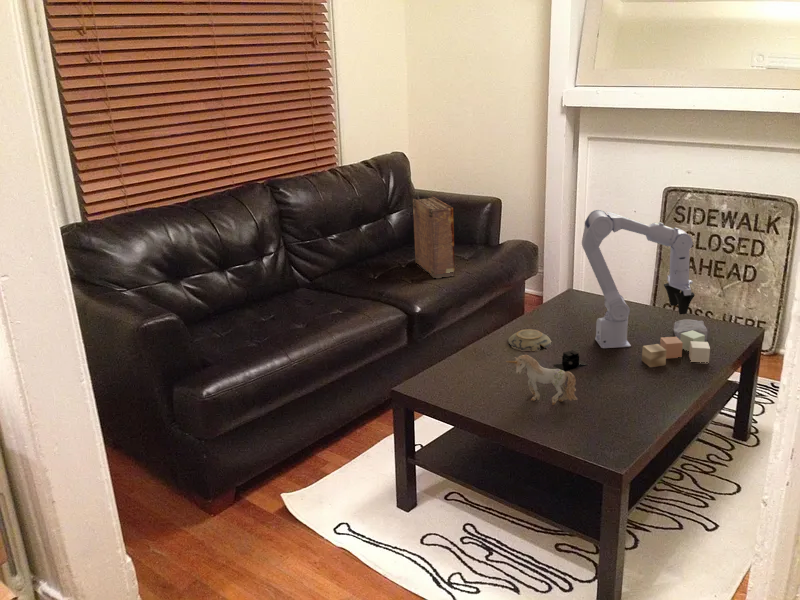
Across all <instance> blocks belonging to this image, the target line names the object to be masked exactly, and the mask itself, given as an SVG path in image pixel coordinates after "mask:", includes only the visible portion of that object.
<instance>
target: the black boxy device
mask: <svg viewBox="0 0 800 600" xmlns="http://www.w3.org/2000/svg"><path fill="white" fill-rule="evenodd" d="M562 353H563V354H562V356H561V358H562V359H561V360H562V362H559V363H554V364H553V365H554V366H553V367H555V368H556V369H560V370H563V371H565V372H568V371H572V370H575V369H578V368H582V367H587V366H589V364H588V363H586V362H585V361H583V360H582V359H580V355H579V352H577V351H575V350H568V351H565V352H562Z"/></svg>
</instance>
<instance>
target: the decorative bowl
mask: <svg viewBox="0 0 800 600" xmlns="http://www.w3.org/2000/svg"><path fill="white" fill-rule="evenodd" d="M508 342H509V344H510V345H511V346H513V347H516V348H518V349H521V350H530V351H531V350H532V351H535V350H540V349H541V347H543V348H544V349H545V348H546V347H549V345H551V342H552V340H551V338H550V337H549V336H548V335H547V334H545V333H543V332H541V331H539V330H538V329H534V328H533V329H532V328H529V329H528V328H527V329H521V330H519V331H517V332H515V333H513V334H512V335H510V337H509V338H508V339H507V343H508ZM509 344H508V345H509ZM510 345H509V346H510ZM551 346H552V345H551ZM549 348H550V347H549ZM541 350H542V349H541ZM535 352H536V351H535Z"/></svg>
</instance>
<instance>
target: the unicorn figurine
mask: <svg viewBox="0 0 800 600" xmlns="http://www.w3.org/2000/svg"><path fill="white" fill-rule="evenodd" d="M514 359H515V360H505V363H508V364H515V366H516V371H515V373H516V374H517V375H521V374H522V372H523V371H522V370H523V369H524V368H526V369H527V370H526V371H527V372H526V373H527V377H528V380H527V386H528V389H529V391H530V392H531V394H532V395H533V396H532V398H531V399H530V400H531V401H532V400H533V401H532V402H536V400H537V401H540V397H541V393H540V392H539V391H538V389H539V388H538V384H537V383H540V384H544V385H549V384H552V385H553V386H554V388H555V390H556V391H557V393H555V395H553V396H552V397H551V405H552V406H555V404H557V401H558V402H561V403H562V402H563V401H567V400H569V401H570V402H572V400H573V401H578V397H576V395H575V393H576V391H577V389H576V387H575V386H576V382H577V380H576V378H575V375H574V374H573V373H572V372H571V371H570V370H568V371H563V370H560V369H558V368H546V367H543V366H541V364H540V363H539V361H537V360H536V359H535V358H534V357H532V356H530V355H528V354H522V355H519V356H518V357H516V356H514ZM565 383H566V384H565ZM534 395H535V396H534ZM561 395H562V396H561ZM559 396H560V397H559Z"/></svg>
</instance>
